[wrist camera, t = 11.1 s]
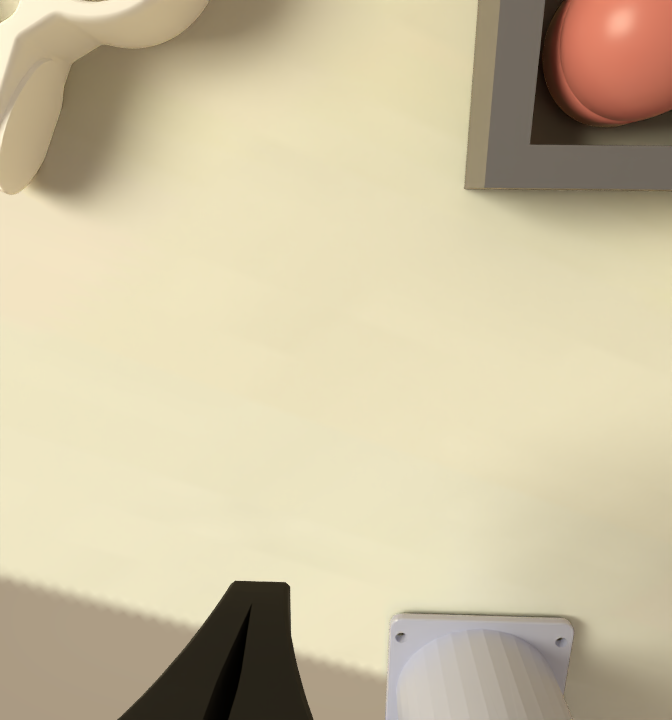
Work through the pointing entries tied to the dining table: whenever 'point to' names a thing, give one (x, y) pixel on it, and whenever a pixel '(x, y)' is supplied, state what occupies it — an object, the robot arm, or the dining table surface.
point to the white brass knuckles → (65, 64)
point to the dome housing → (515, 113)
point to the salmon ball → (610, 60)
